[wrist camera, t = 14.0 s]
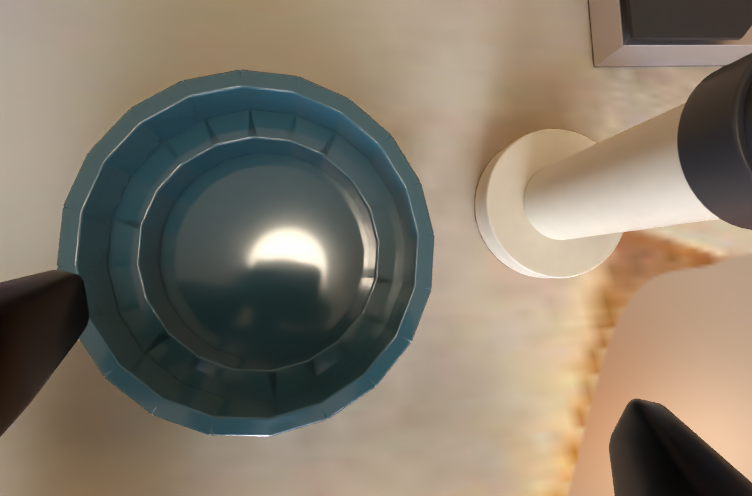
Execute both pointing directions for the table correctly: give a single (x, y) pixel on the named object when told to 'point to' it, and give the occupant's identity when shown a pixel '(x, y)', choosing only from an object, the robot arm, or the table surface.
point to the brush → (620, 181)
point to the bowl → (247, 253)
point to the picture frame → (670, 32)
